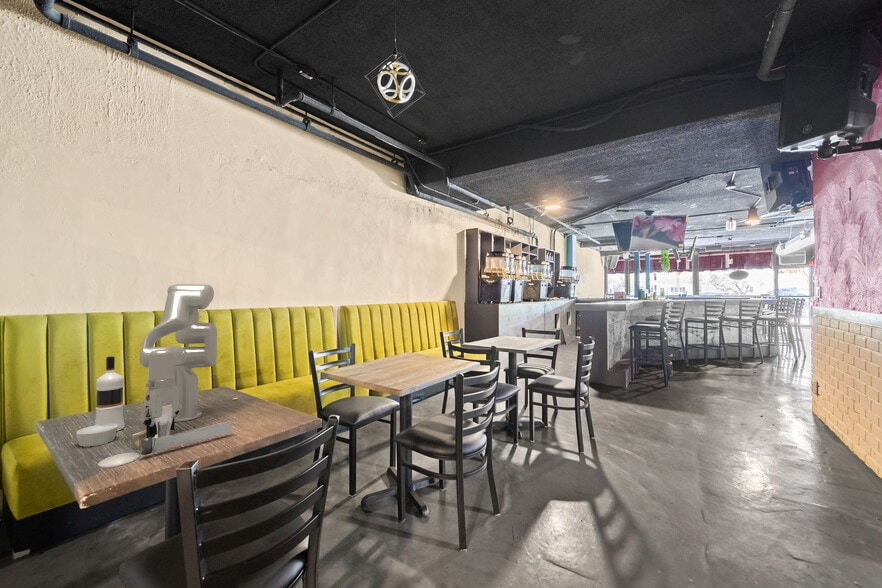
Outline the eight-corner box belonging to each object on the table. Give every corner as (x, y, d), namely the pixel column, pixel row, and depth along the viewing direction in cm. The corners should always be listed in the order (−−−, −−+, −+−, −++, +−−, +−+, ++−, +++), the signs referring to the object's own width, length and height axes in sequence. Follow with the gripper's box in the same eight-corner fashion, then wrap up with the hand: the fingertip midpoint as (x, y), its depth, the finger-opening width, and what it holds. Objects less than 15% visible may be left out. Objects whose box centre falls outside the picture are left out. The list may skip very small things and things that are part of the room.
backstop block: (132, 448, 129) (132, 434, 129) (157, 439, 137) (157, 425, 137) (138, 449, 128) (139, 435, 128) (163, 439, 137) (163, 426, 137)
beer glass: (157, 442, 134) (157, 401, 135) (177, 441, 135) (177, 401, 135) (143, 449, 127) (144, 407, 128) (164, 449, 128) (164, 406, 128)
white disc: (90, 465, 115) (90, 464, 115) (124, 453, 125) (124, 451, 125) (114, 469, 113) (114, 467, 113) (146, 456, 123) (146, 454, 123)
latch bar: (139, 453, 121) (140, 438, 121) (229, 430, 142) (229, 417, 142) (141, 455, 119) (142, 440, 119) (232, 432, 140) (232, 419, 140)
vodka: (87, 435, 140) (88, 358, 141) (103, 427, 149) (104, 355, 150) (116, 433, 143) (117, 357, 143) (129, 425, 152) (130, 354, 152)
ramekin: (124, 436, 141) (125, 422, 141) (103, 447, 130) (103, 432, 130) (92, 437, 139) (92, 424, 139) (67, 449, 128) (67, 434, 128)
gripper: (145, 390, 122) (144, 443, 122) (191, 379, 139) (190, 425, 139) (128, 388, 124) (127, 441, 124) (175, 378, 141) (175, 424, 141)
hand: (160, 432), depth 131 cm, fingers closed on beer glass, 6 cm apart
